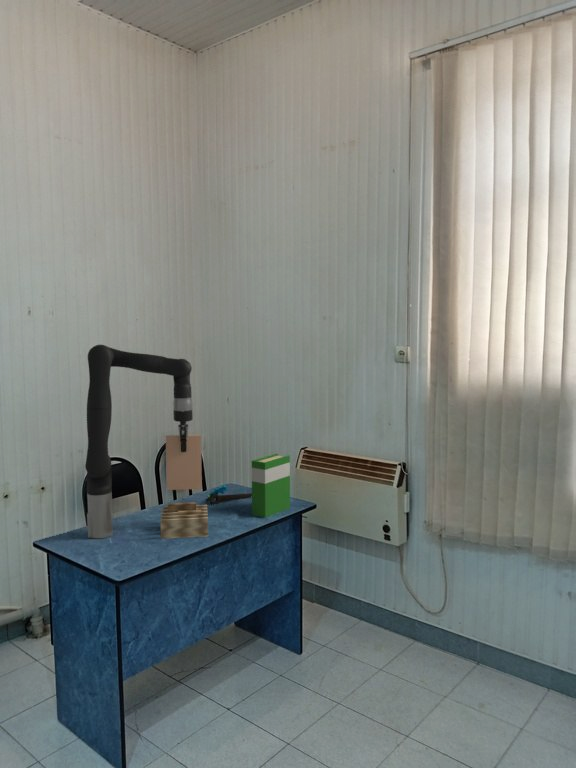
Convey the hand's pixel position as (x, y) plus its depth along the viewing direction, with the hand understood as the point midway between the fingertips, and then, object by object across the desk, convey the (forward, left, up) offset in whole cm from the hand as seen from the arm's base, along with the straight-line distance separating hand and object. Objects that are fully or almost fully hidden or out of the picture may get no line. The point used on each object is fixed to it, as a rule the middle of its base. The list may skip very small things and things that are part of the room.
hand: (183, 451), depth 258 cm
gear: (+14, +38, -32) cm, 51 cm away
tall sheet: (0, 0, -16) cm, 16 cm away
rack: (0, -6, -32) cm, 32 cm away
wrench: (+23, +35, -32) cm, 53 cm away
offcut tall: (-1, -4, -30) cm, 31 cm away
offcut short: (+2, -8, -30) cm, 32 cm away
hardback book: (+37, +17, -32) cm, 52 cm away
